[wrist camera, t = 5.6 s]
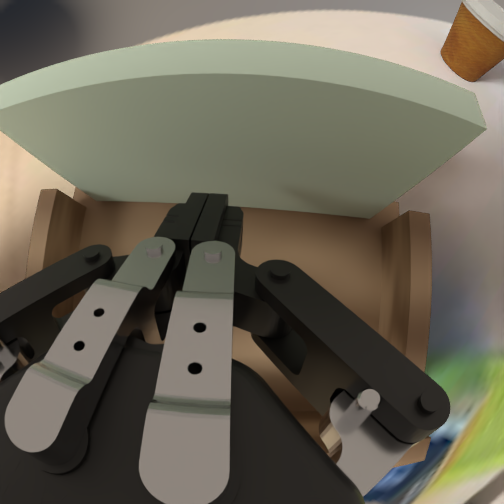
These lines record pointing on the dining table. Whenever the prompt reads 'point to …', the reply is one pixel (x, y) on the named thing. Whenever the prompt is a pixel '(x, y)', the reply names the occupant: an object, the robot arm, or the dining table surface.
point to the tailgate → (240, 124)
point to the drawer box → (277, 248)
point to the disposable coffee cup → (475, 39)
